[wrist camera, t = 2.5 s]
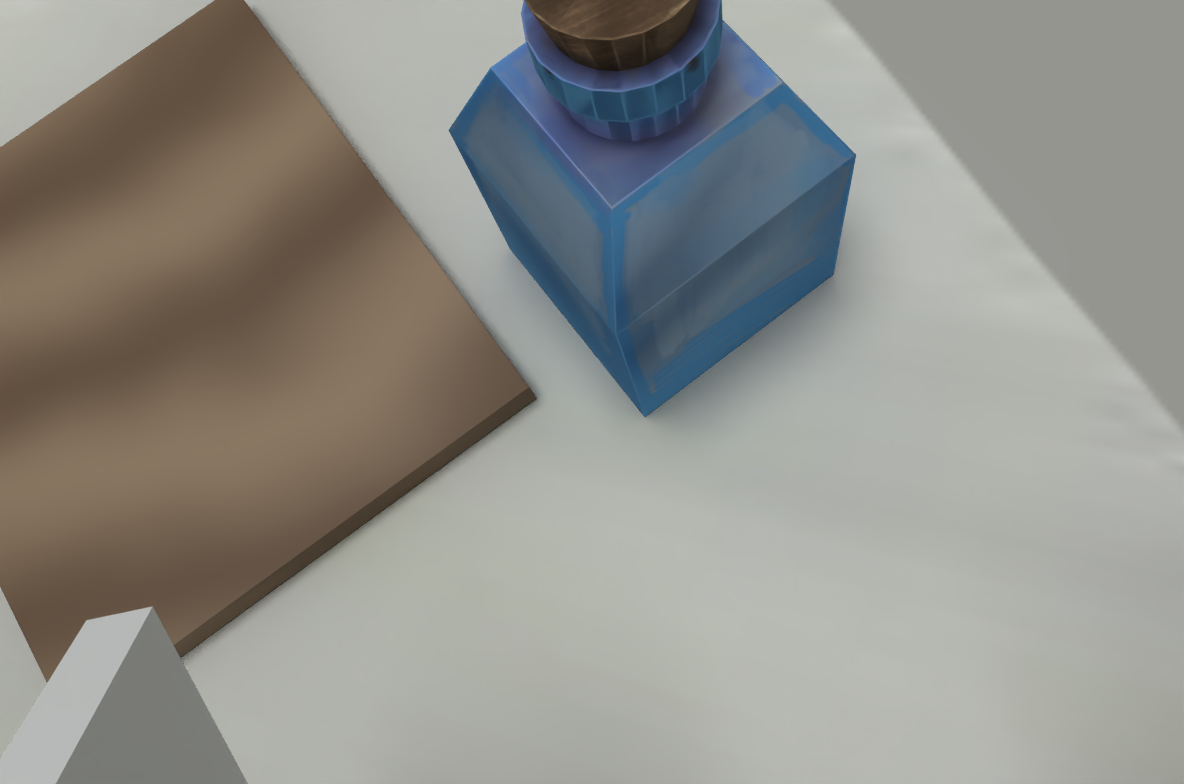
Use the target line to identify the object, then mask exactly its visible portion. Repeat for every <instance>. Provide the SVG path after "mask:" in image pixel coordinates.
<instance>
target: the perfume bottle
mask: <svg viewBox="0 0 1184 784" xmlns="http://www.w3.org/2000/svg"><path fill="white" fill-rule="evenodd" d="M521 16H522V22H523V28H524V34H525V39H526V42H525V43H524V44H523V45H521V46H520V47H519V48H517V49H516V50H514V51H513V52H512V53H510V54H509V55H507V56H506V57H505V58H503V59H502V60H501V61H499V62H498V63H496V64H495V65H494V66H492V67H491V68H490V69H489V71H488V72H487V74H486V75H485V77H484V78H483V80H482V81H481V83H480V84H479V86H478V87H477V89H476V90H475V92H474V93H473V95H472V96H471V98H470V99H469V101H468V102H467V104H466V105H465V107H464V108H463V110H462V111H461V113H460V114H459V116H458V117H457V119H456V120H455V121H454V123H453V124H452V126H451V127H450V129H449V132H450V134H451V135H452V137H453V139H454V141H455V143H456V145H457V147H458V149H459V151H460V153H461V155H462V157H463V159H464V161H465V163H466V165H467V166H468V168H469V170H470V172H471V174H472V176H473V178H474V180H475V182H476V184H477V186H478V188H479V190H480V192H481V194H482V196H483V197H484V199H485V201H486V203H487V205H488V207H489V209H490V211H491V213H492V215H493V217H494V219H495V221H496V223H497V225H498V227H499V228H500V230H501V232H502V234H503V236H504V238H505V240H506V242H507V244H508V246H509V248H510V249H511V250H512V252H513V253H514V254H515V255H516V257H517V258H518V259H519V260H520V262H521V263H522V264H523V265H524V267H525V268H526V269H527V270H528V272H529V273H530V274H531V275H532V277H533V278H534V279H535V280H536V282H537V283H538V284H539V285H540V287H541V288H542V289H543V290H544V292H545V293H546V294H547V295H548V297H549V298H550V299H551V300H552V302H553V303H554V304H555V305H556V307H557V308H558V309H559V310H560V312H561V313H562V314H563V315H564V317H565V318H566V319H567V320H568V322H569V323H570V324H571V325H572V327H573V328H574V329H575V330H576V332H577V333H578V334H579V335H580V337H581V338H582V339H583V340H584V342H585V343H586V344H587V345H588V347H589V348H590V349H591V350H592V352H593V353H594V354H595V355H596V357H597V358H598V359H599V360H600V362H601V363H602V364H603V365H604V367H605V368H606V369H607V370H608V372H609V373H610V374H611V375H612V377H613V378H614V379H615V380H616V382H617V383H618V384H619V385H620V387H621V388H622V389H623V390H624V392H625V393H626V394H627V395H628V397H629V398H630V399H631V400H632V402H633V403H634V404H635V406H636V407H637V408H638V409H639V411H640V412H641V413H642V414H643V416H644V417H646V416H647V415H648V414H650V413H651V412H652V411H654V410H655V409H656V408H658V407H659V406H660V405H662V404H663V403H664V402H666V401H667V400H668V399H670V398H671V397H672V396H674V395H675V394H676V393H678V392H679V391H680V390H681V389H683V388H684V387H685V386H687V385H688V384H689V383H691V382H692V381H693V380H695V379H696V378H697V377H699V376H700V375H701V374H703V373H704V372H705V371H707V370H708V369H709V368H711V367H712V366H713V365H715V364H716V363H717V362H718V361H720V360H721V359H722V358H724V357H725V356H726V355H728V354H729V353H730V352H732V351H733V350H734V349H736V348H737V347H738V346H740V345H741V344H742V343H744V342H745V341H746V340H748V339H749V338H750V337H751V336H753V335H754V334H755V333H757V332H758V331H759V330H761V329H762V328H763V327H765V326H766V325H767V324H769V323H770V322H771V321H773V320H774V319H775V318H777V317H778V316H779V315H781V314H782V313H783V312H784V311H786V310H787V309H788V308H790V307H791V306H792V305H794V304H795V303H796V302H798V301H799V300H800V299H802V298H803V297H804V296H806V295H807V294H808V293H810V292H811V291H812V290H814V289H815V288H816V287H817V286H819V285H820V284H821V283H823V282H824V281H825V280H827V279H828V278H829V277H831V276H832V275H833V274H834V269H835V264H836V259H837V253H838V248H839V243H840V237H841V232H842V227H843V222H844V216H845V211H846V206H847V201H848V195H849V190H850V185H851V179H852V174H853V169H854V164H855V158H856V154H855V153H854V152H853V151H852V150H851V149H850V148H849V147H848V146H847V145H846V144H845V143H844V142H843V141H842V140H841V139H840V138H839V137H838V136H837V135H836V134H835V133H834V132H833V131H832V130H831V129H830V128H829V127H828V126H827V125H826V124H825V123H824V122H823V121H822V120H821V119H820V118H819V117H818V116H817V115H816V114H815V113H814V112H813V111H812V110H811V109H810V108H809V107H808V106H807V105H806V104H805V103H804V102H803V101H802V100H801V99H800V98H799V97H798V96H797V95H796V94H795V93H794V92H793V91H792V90H791V89H790V88H789V87H788V86H787V85H786V84H785V83H784V82H783V81H782V79H781V78H780V77H779V76H778V75H777V74H776V73H775V72H774V71H773V70H772V69H771V68H770V67H769V66H768V65H767V64H766V63H765V62H764V61H763V60H762V59H761V58H760V57H759V56H758V55H757V54H756V53H755V52H754V51H753V50H752V49H751V48H750V47H749V46H748V45H747V44H746V43H745V42H744V41H743V40H742V39H741V38H740V37H739V36H738V35H737V34H736V33H735V32H734V31H733V30H732V29H731V28H730V27H729V26H728V25H727V24H726V23H725V22H724V21H723V20H722V0H524V2H523V7H522V12H521Z"/></svg>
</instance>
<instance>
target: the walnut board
mask: <svg viewBox="0 0 1184 784" xmlns="http://www.w3.org/2000/svg"><path fill="white" fill-rule="evenodd" d="M535 399H536V397H535V395H534V394H533V392H532V391H531V389H530V388H529V386H528V385H527V384H526V382H525V381H524V380H523V378H522V377H521V376H520V374H519V373H518V371H517V370H516V369H515V367H514V366H513V365H512V363H511V362H510V361H509V359H508V358H507V357H506V355H505V354H504V352H503V351H502V350H501V348H500V347H499V346H498V344H497V343H496V342H495V340H494V339H493V338H492V336H491V335H490V333H489V332H488V331H487V329H486V328H485V327H484V325H483V324H482V323H481V321H480V320H479V319H478V317H477V316H476V314H475V313H474V312H473V310H472V309H471V308H470V306H469V305H468V304H467V302H466V301H465V300H464V298H463V297H462V295H461V294H460V293H459V291H458V290H457V289H456V287H455V286H454V285H453V283H452V282H451V280H450V279H449V278H448V276H447V275H446V274H445V272H444V271H443V270H442V268H441V267H440V266H439V264H438V263H437V261H436V260H435V259H434V257H433V256H432V255H431V253H430V252H429V251H428V249H427V248H426V247H425V245H424V244H423V242H422V241H421V240H420V238H419V237H418V236H417V234H416V233H415V232H414V230H413V229H412V228H411V226H410V225H409V223H408V222H407V221H406V219H405V218H404V217H403V215H402V214H401V213H400V211H399V210H398V209H397V207H396V206H395V204H394V203H393V202H392V200H391V199H390V198H389V196H388V195H387V194H386V192H385V191H384V190H383V188H382V187H381V185H380V184H379V183H378V181H377V180H376V179H375V177H374V176H373V175H372V173H371V172H370V171H369V169H368V168H367V166H366V165H365V164H364V162H363V161H362V160H361V158H360V157H359V156H358V154H357V153H356V152H355V150H354V149H353V147H352V146H351V145H350V143H349V142H348V141H347V139H346V138H345V137H344V135H343V134H342V133H341V131H340V130H339V128H338V127H337V126H336V124H335V123H334V122H333V120H332V119H331V118H330V116H329V115H328V114H327V112H326V111H325V109H324V108H323V107H322V105H321V104H320V103H319V101H318V100H317V99H316V97H315V96H314V95H313V93H312V92H311V90H310V89H309V88H308V86H307V85H306V84H305V82H304V81H303V80H302V78H301V77H300V76H299V74H298V73H297V71H296V70H295V69H294V67H293V66H292V65H291V63H290V62H289V61H288V59H287V58H286V57H285V55H284V54H283V52H282V51H281V50H280V48H279V47H278V46H277V44H276V43H275V42H274V40H273V39H272V37H271V36H270V35H269V33H268V32H267V31H266V29H265V28H264V27H263V25H262V24H261V23H260V21H259V20H258V18H257V17H256V16H255V14H254V13H253V12H252V10H251V9H250V8H249V6H248V5H247V4H246V2H245V1H244V0H215V1H213V2H212V3H210V4H209V5H207V6H206V7H205V8H203V9H202V10H200V11H199V12H197V13H196V14H194V15H193V16H191V17H190V18H188V19H187V20H186V21H184V22H183V23H181V24H180V25H178V26H177V27H175V28H174V29H172V30H171V31H170V32H168V33H167V34H165V35H164V36H162V37H161V38H159V39H158V40H156V41H155V42H153V43H152V44H151V45H149V46H148V47H146V48H145V49H143V50H142V51H140V52H139V53H137V54H136V55H134V56H133V57H132V58H130V59H129V60H127V61H126V62H124V63H123V64H121V65H120V66H118V67H117V68H116V69H114V70H113V71H111V72H110V73H108V74H107V75H105V76H104V77H102V78H101V79H99V80H98V81H97V82H95V83H94V84H92V85H91V86H89V87H88V88H86V89H85V90H83V91H82V92H80V93H79V94H78V95H76V96H75V97H73V98H72V99H70V100H69V101H67V102H66V103H64V104H63V105H62V106H60V107H59V108H57V109H56V110H54V111H53V112H51V113H50V114H48V115H47V116H45V117H44V118H43V119H41V120H40V121H38V122H37V123H35V124H34V125H32V126H31V127H29V128H28V129H26V130H25V131H24V132H22V133H21V134H19V135H18V136H16V137H15V138H13V139H12V140H10V141H9V142H7V143H6V144H5V145H3V146H2V147H0V587H1V589H2V591H3V593H4V595H5V597H6V599H7V601H8V603H9V605H10V607H11V609H12V612H13V614H14V616H15V618H16V620H17V622H18V624H19V626H20V628H21V630H22V632H23V634H24V636H25V638H26V640H27V642H28V644H29V647H30V649H31V651H32V653H33V655H34V657H35V659H36V661H37V663H38V665H39V667H40V669H41V671H42V673H43V675H44V677H45V679H46V682H47V683H48V681H49V679H50V678H51V676H52V675H53V673H54V671H55V670H56V668H57V667H58V665H59V663H60V662H61V660H62V659H63V657H64V655H65V654H66V652H67V651H68V649H69V647H70V646H71V644H72V643H73V641H74V639H75V638H76V636H77V635H78V633H79V631H80V630H81V628H82V627H83V625H84V623H85V622H86V620H90V619H95V618H100V617H105V616H109V615H114V614H119V613H124V612H128V611H133V610H138V609H143V608H148V607H152V606H153V608H154V610H155V612H156V614H157V615H158V617H159V619H160V621H161V623H162V625H163V627H164V628H165V630H166V632H167V634H168V636H169V638H170V640H171V642H172V643H173V645H174V647H175V649H176V651H177V653H178V655H179V656H180V657H182V656H183V655H184V654H186V653H187V652H189V651H190V650H191V649H193V648H194V647H195V646H197V645H198V644H200V643H201V642H202V641H204V640H205V639H206V638H208V637H209V636H211V635H212V634H213V633H215V632H216V631H217V630H219V629H220V628H222V627H223V626H224V625H226V624H227V623H228V622H230V621H231V620H232V619H234V618H235V617H237V616H238V615H239V614H241V613H242V612H243V611H245V610H246V609H248V608H249V607H250V606H252V605H253V604H254V603H256V602H257V601H259V600H260V599H261V598H263V597H264V596H265V595H267V594H268V593H270V592H271V591H272V590H274V589H275V588H276V587H278V586H279V585H281V584H282V583H283V582H285V581H286V580H287V579H289V578H290V577H292V576H293V575H294V574H296V573H297V572H298V571H300V570H301V569H303V568H304V567H305V566H307V565H308V564H309V563H311V562H312V561H314V560H315V559H316V558H318V557H319V556H320V555H322V554H323V553H325V552H326V551H327V550H329V549H330V548H331V547H333V546H334V545H336V544H337V543H338V542H340V541H341V540H342V539H344V538H345V537H347V536H348V535H349V534H351V533H352V532H353V531H355V530H356V529H358V528H359V527H360V526H362V525H363V524H364V523H366V522H367V521H369V520H370V519H371V518H373V517H374V516H375V515H377V514H378V513H380V512H381V511H382V510H384V509H385V508H386V507H388V506H389V505H391V504H392V503H393V502H395V501H396V500H397V499H399V498H400V497H402V496H403V495H404V494H406V493H407V492H408V491H410V490H411V489H413V488H414V487H415V486H417V485H418V484H419V483H421V482H422V481H424V480H425V479H426V478H428V477H429V476H430V475H432V474H433V473H435V472H436V471H437V470H439V469H440V468H441V467H443V466H444V465H446V464H447V463H448V462H450V461H451V460H452V459H454V458H455V457H457V456H458V455H459V454H461V453H462V452H463V451H465V450H466V449H468V448H469V447H470V446H472V445H473V444H474V443H476V442H477V441H479V440H480V439H481V438H483V437H484V436H485V435H487V434H488V433H490V432H491V431H492V430H494V429H495V428H496V427H498V426H499V425H501V424H502V423H503V422H505V421H506V420H507V419H509V418H510V417H512V416H513V415H514V414H516V413H517V412H518V411H520V410H521V409H523V408H524V407H525V406H527V405H528V404H529V403H531V402H532V401H534V400H535Z"/></svg>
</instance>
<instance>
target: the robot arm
mask: <svg viewBox="0 0 1184 784" xmlns="http://www.w3.org/2000/svg"><path fill="white" fill-rule="evenodd" d="M0 784H248V783H247V782H246V780H245V778H244V776H243V774H242V772H241V770H240V768H239V767H238V765H237V763H236V761H235V759H234V757H233V755H232V754H231V752H230V750H229V748H228V746H227V744H226V742H225V740H224V739H223V737H222V735H221V733H220V731H219V729H218V727H217V726H216V724H215V722H214V720H213V718H212V716H211V714H210V712H209V711H208V709H207V707H206V705H205V703H204V701H203V699H202V698H201V696H200V694H199V692H198V690H197V688H196V686H195V684H194V683H193V681H192V679H191V677H190V675H189V673H188V671H187V670H186V668H185V666H184V664H183V662H182V660H181V658H180V656H179V655H178V653H177V651H176V649H175V647H174V645H173V643H172V642H171V640H170V638H169V636H168V634H167V632H166V630H165V628H164V627H163V625H162V623H161V621H160V619H159V617H158V615H157V614H156V612H155V610H154V608H153V606H152V607H148V608H143V609H138V610H133V611H128V612H124V613H119V614H114V615H109V616H105V617H100V618H95V619H90V620H86V622H85V623H84V625H83V627H82V628H81V630H80V631H79V633H78V635H77V636H76V638H75V639H74V641H73V643H72V644H71V646H70V647H69V649H68V651H67V652H66V654H65V655H64V657H63V659H62V660H61V662H60V663H59V665H58V667H57V668H56V670H55V671H54V673H53V675H52V676H51V678H50V679H49V681H48V683H47V684H46V686H45V687H44V689H43V691H42V692H41V694H40V695H39V697H38V699H37V700H36V702H35V703H34V705H33V707H32V708H31V710H30V711H29V713H28V715H27V716H26V718H25V719H24V721H23V723H22V724H21V726H20V727H19V729H18V731H17V732H16V734H15V735H14V737H13V739H12V740H11V742H10V743H9V745H8V747H7V748H6V750H5V751H4V753H3V755H2V756H1V758H0Z"/></svg>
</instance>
